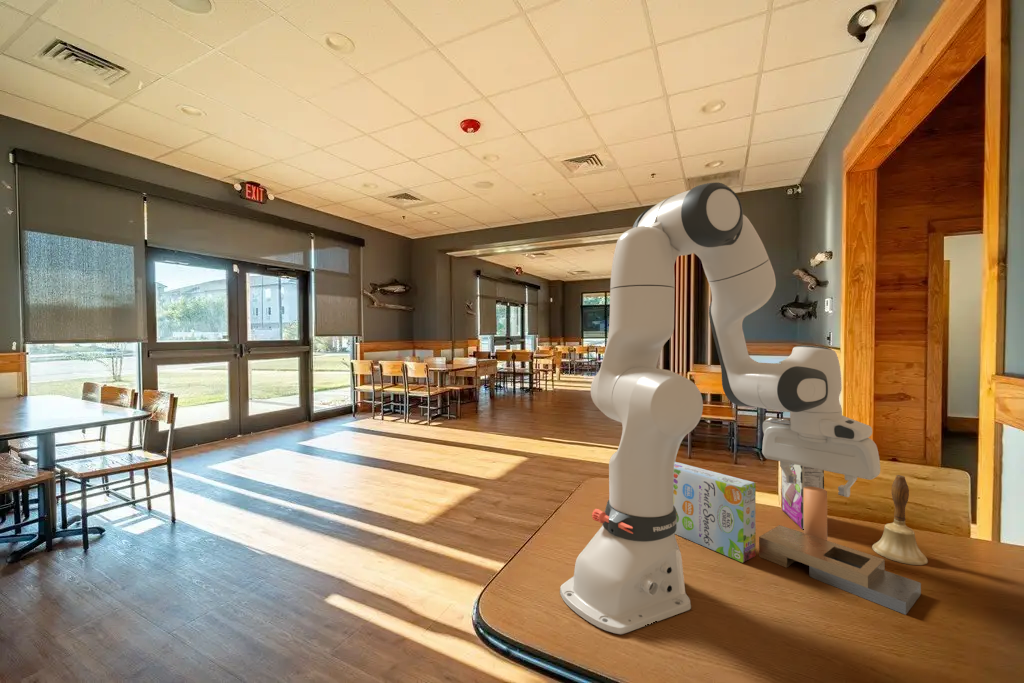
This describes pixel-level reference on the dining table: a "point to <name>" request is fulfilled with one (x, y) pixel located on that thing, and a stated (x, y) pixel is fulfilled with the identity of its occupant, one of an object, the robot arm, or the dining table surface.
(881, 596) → the chain end lower
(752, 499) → the snack box
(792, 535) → the chain end upper
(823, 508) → the pin
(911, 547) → the hand bell
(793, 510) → the candy bar box
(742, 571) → the dining table surface
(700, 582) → the dining table surface
